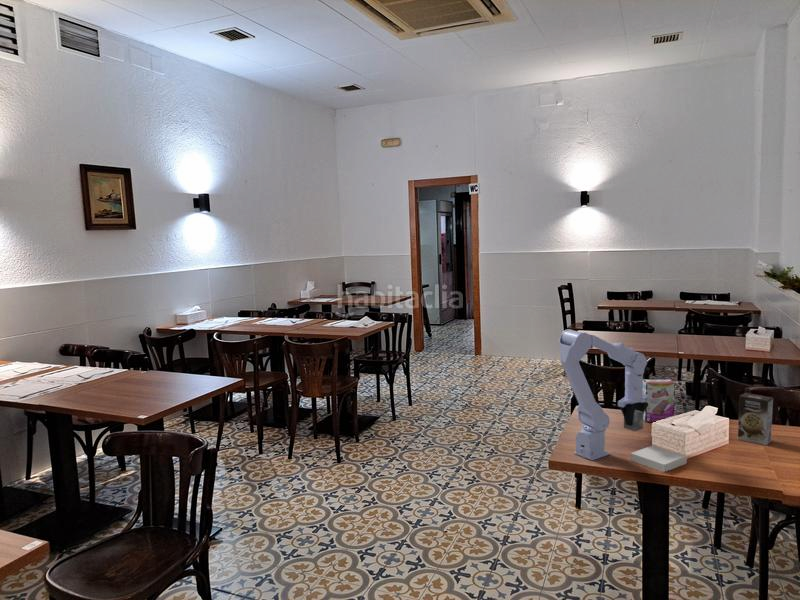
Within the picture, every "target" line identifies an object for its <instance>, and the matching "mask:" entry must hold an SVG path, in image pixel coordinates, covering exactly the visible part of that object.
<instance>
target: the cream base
mask: <svg viewBox="0 0 800 600" xmlns="http://www.w3.org/2000/svg"><path fill="white" fill-rule="evenodd" d="M687 458H688V456H687V455H685V454H681V453H679V452H676V451H672V450H670V449H666V448H663V447H660V446H656V445H653V444H652V445H650V446H647V447H644V448H641V449H639V450H635V451H633V452H631V453H630V461H631V462H634V463H637V464H640V465H643V466H646V467H649V468H650V469H653V470H656V471H659V472H661V473H666V472H668V470H669V471H672V470H674V469H675V468H679V467H681V466H684V465H686V464H687V460H688V459H687ZM665 471H666V472H665Z"/></svg>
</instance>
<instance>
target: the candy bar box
mask: <svg viewBox="0 0 800 600" xmlns="http://www.w3.org/2000/svg"><path fill="white" fill-rule="evenodd" d="M675 393H676V381H673V380H672V379H643V394H647V395H649V400H648V401H646V400H645V402H647V403H648V407H647V408H646V410H645V412H644V415H643V422H645V423H655V422H654V421H657V420H661V419H665V418H667V417H669V416H673V415H674V416H675V401H676V399H675V396H676V394H675Z"/></svg>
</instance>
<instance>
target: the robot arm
mask: <svg viewBox="0 0 800 600" xmlns="http://www.w3.org/2000/svg"><path fill="white" fill-rule="evenodd" d="M557 343H558V344H559V347H560V355H559V356H560V358H559V361H560V364H561V366H562V368H563V370H564V373H565V375H566V377H567V380H568V382H569V384H570V386H571V389H572V391H573V393H574V396H575V398H576V401H577V404H578V405H577V407H576V410H577V417H578V421H579V422H580V423H581V430H580V431H578V432H577V434H576V435H575V451H574V452H573V454H575V455H578V456H580V457H582V458H585V459H587V460H590V461H594V460H598V459H601V458H604V457H607V456H609V455H611V452H610V451H606V450H605V448H606V444H605V442H606V441H605V440H606V436H605V435H606V434H605V433H606V431H607V428H609V425H610V421H611V420H610V416H609V415H608V414H607V413H606V412H605V411H604V409H603V407H602V406H601V405H600V404H599V403H598V402H597V401H596V399H595V397H594V394H593V392H592V390H591V387H590V385H589V383H588V380H587V379H586V376H585V373H584V371H583V369H582V366H581V365H580V361H581V360H582V359H583V358H584V357H585V355H586V354H587V353H588V351H589V350H590V349H594V348H595V349H598V350H599V351H602V352H605V353H606V354H607V356H608V357H609V358H610V359H612V360H614V361H617V362H618V363H621V364H622V365H623V366H625V367H624V379H625V380H624V388H625V389H624V397H622V398H621V399H620V400H618V401H617V407H619V409H620V411H621V412H622V415H623V420H624V419H625V423H626V425H630V426H631V425H632V423H633V415H634V412H635V410H638V411H641V412H643V415H644V412H645V410H646V408H647V407H648V403H647V402H645V400H646V401H648V400H649V395H647V394H643V380H644V373H645V368H646V366H647V364H648V360H647V358H646V356H645V354H644V353H642V352H638V351H635V349H634V348H633V347H627V346H625V343H623V342H612V343H610V342H608V341H606V340H605V339H602V338H601V337H600V336H599V337H598V336H596V335H594V334H590V333H587V332H581V331H578V330H573V329H570V328H567V329H565V330H563V331H562V332H561V333H560V336H559V339H558V341H557Z"/></svg>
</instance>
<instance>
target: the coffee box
mask: <svg viewBox="0 0 800 600" xmlns="http://www.w3.org/2000/svg"><path fill="white" fill-rule="evenodd" d="M738 399H739V400H738V401H739V402H738V405H739V406H738V422H737V423H738V424H737V428H738V429H737V440H740V441H745V442H749V443H754V444H757V445H761V446H762V445H763V446H768V444H770V443H771V442H772V430H773V429H772V427H773V426H772V425H773V409H774V408H773V406H774V397H772V396H765V395H762V394H761V395H759V394H754V393H750V392H744V393H743V394H740V395H739V398H738Z"/></svg>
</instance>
